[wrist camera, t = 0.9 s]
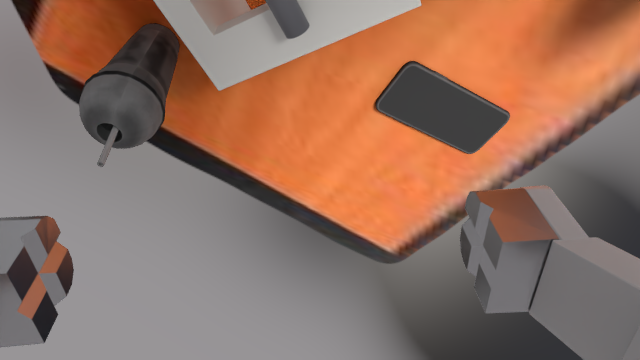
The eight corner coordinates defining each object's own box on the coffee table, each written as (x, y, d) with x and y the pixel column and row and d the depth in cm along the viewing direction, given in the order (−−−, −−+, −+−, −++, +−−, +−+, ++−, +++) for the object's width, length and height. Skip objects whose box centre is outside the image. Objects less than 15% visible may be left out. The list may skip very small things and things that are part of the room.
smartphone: (472, 157, 62) (371, 109, 57) (470, 152, 63) (371, 104, 58) (515, 116, 58) (409, 59, 53) (512, 111, 58) (408, 55, 53)
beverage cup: (108, 29, 52) (18, 154, 37) (161, -2, 49) (87, 118, 35) (155, 82, 56) (90, 212, 42) (206, 56, 54) (156, 184, 39)
